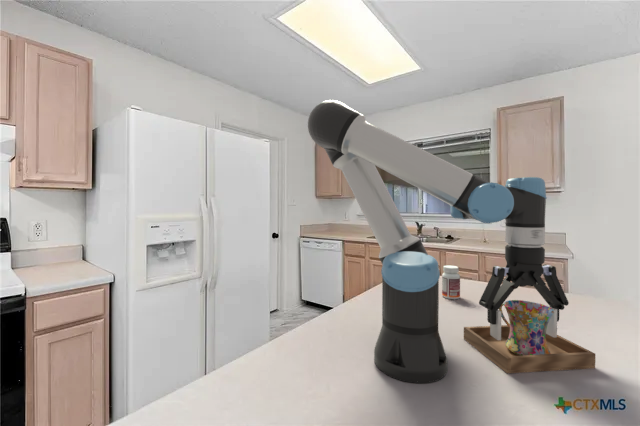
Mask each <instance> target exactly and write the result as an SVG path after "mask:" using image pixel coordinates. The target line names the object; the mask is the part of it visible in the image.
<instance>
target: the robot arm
mask: <svg viewBox="0 0 640 426" xmlns="http://www.w3.org/2000/svg"><path fill="white" fill-rule="evenodd" d="M307 130H308V131H307V132H308V133H309V136H310V138H311V140H312V141H313V142H314V143H315V144H316V145H317V146H319V147H320V148H323V149H324V151H325V152H326V154H327V156H328V158H329V161H330V163H331V165H332V166H333V168H335V169H338V170H340V171H341V172H342V173H343V176H344V178H345V180H346V182H347V184H348V186H349V188H350V189H351V191H352V194H353V196H354V198H355V200H356V202H357V204H358V206H359V208H360V210H361V211H362V214H363V216H364V218H365V219H366V222H367V224H368V226H369V228H370V229H371V232H372V234H373V236H374V237H375V240H376V242H377V244H378V245H379V248H380V251H379V254H378V259H379V260H380V263H381V264H382V266H381V272H380V273H381V278H382V290H381V292H382V295H381V297H382V299H381V300H382V304H381V306H382V307H381V312H382V313H381V315H382V318H381V319H382V321H381V323H382V325H381V328H380V331H379V334H378V336H377V337H378V338H377V340H376V341H375V342H376V343H375V345H374V350H373V353H374V354H373V355H374V358H373V360H374V364H375V366H376V368H378V369H379V371H381V372H382V373H384V374H385V375H387V376H389V377H391V378H393V379H396V380H400V381H402V382H407V383H413V384H414V383H415V384H427V383H434V382H436V381H439V380H441V379H442V378H444V377H445V376H446V375H447V373H448V357H447V354H446V350H445V348H444V345H443V341H442V339H441V336H440V332H439V308H440V307H439V295H440V293H439V292H440V290H439V289H440V288H439V286H440V285H439V284H440V283H439V281H440V277H441V276H440V275H441V273H440V269H439V263H438V260H437V259H436V258H435V257H434V256H432V255H431V254H428V252H427V250H426V248H425V246H424V244H423V243H422V242H423V241H421V239H420V237H418V236H415V235H412V234H411V232H410V231H409V228H408V227H407V224H406V223H405V221H404V218H403V217H402V214H401V213H400V211H399V209H398V207H397V206H396V203H395V202H394V199H393V197H392V195H391V194H390V192H389V190H388V187H387V186H386V184H385V183H384V180H383V178H382V176H381V173H379V171H378V168H379V169H381V170H384V171H385V172H387V173H389V175H390V174H391V175H392V176H394V177H397V179H400V180H402V181H404V182H405V183H408V184H409V185H412V186H414V187H415V188H417V189H419V190H421V191H423V192H424V193H426V194H428V195H431V196H432V197H433V198H436V199H438V200H440V201H442V202H443V203H445V204H447V205H449V206H450V209H449V211H450V216H451V217H452V218H454V219H460V220H477V221H478V222H481V223H482V224H492V223H498V222H501V221H503V220H505V231H504V233H505V235H504V236H505V237H504V242H505V243H506V245H505V246H504V259H505V261H506V265H505V267H503V266H498V265H494V266H492V272H491V275H490V276H491V277H490V278H489V281H488V282H487V284H486V287H485V289H484V291H483V293H482V295H481V297H480V299H479V302H478V304H479V305H480V306H482V307H484V308H485V309H487V315H486V316H487V318H486V319H487V322H488V323H489V326H490V335H491V336H492V337H494V338H495V339H497V340H501V325H502V317H501V311H499V308H500V306H501V305H502V304H504V302H506V301H507V299H508V298H509V296H511V294H512V292H514V290H516V289H518V288H519V287H527V286H528V287H534V289H535V290H536V291H537V292H538V294H539V295H540V296H541V297H542V299H544V301H545V302H546V303H547V305H546V306H548V307H550V308H552V309H553V311H554V313H553V315H552V316H551V318H550V320H549V322H548V325H547V329H546V334H548V335H550V336H552V337H554V338H555V337H557V335H558V322H559V320H560V310H561V311H563V310H564V309H565V306H569V303H570V302H569V300H568V297H567V296H566V294H565V291H564V288H563V287H562V285H561V284H562V283H561V282H560V280H559V278H558V276H557V267H556V266H555V265H554V266H553V265H550V264H545V263H546V260H545V259H546V258H545V257H546V255H545V253H546V251H545V250H546V249H545V248H544V247H543V246H544V245H546V207H547V206H546V203H547V192H546V191H547V189H546V188H547V187H546V182H545V180H544V179H543V178H542V177H538V176H537V177H536V176H529V177H528V176H527V177H513V178H508V179H507V180H506V182H505V185H502V184H499V183H497V182H489V181H488V180H486V179H484V178H481V177H480V176H477V175H475V174H473V173H471V172H469V171H468V170H466V169H463V168H462V167H459V166H457V165H456V164H453V163H451V162H449V161H447V160H445V159H443V158H440V157H439V156H437V155H435V154H432V153H431V152H429V151H427V150H424V149H423V148H420V147H419V146H417V145H415V144H413V143H411V142H408V141H406V140H404V139H402V138H400V137H399V136H396V135H394V134H392V133H390V132H388V131H386V130H384V129H382V128H380V127H378V126H376V125H374V124H372V123H369V122H368V121H367V119H366V115H364V114H362V113H361V112H358V111H357V110H354V109H353V108H351V107H349V106H348V105H347V104H345V103H343V102H341V101H338V100H334V99H332V100H331V99H329V100H324V101H322V102H319V103H318V104H316V106H315V107H313V109H312V110H311V112H310V113H309V117H308V121H307ZM542 276H543V278H544V280H545V281H544V280H543V279H542ZM546 284H547V285H546Z"/></svg>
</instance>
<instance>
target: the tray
mask: <svg viewBox="0 0 640 426" xmlns="http://www.w3.org/2000/svg"><path fill="white" fill-rule="evenodd" d="M509 333H510V328H509V327H508V325H507V324H504V325H502V324H501V340H497V339H495V338H494V337H492V336H491V335H490V325H482V326H481V325H480V326H479V325H478V326H463V340H464V341H465V342H467V343H468V344H469V345H471V346H472V347H473V348H474V349H476V350H477V351H478V352H480V353H481V354H482V355H483V356H484V357H486V358H487V359H488V360H490V361H491V362H492V363H493V364H495V365H496V366H497V367H498V368H500V370H502V371H504V372H505V373H506V374H519V373H521V374H522V373H535V372H536V373H538V372H540V373H541V372H552V371H553V372H554V371H555V372H556V371H573V370H591V369H596V353H595V352H592V351H591V350H589V349H587V348H586V347H583V346H581V345H579V344H577V343H575V342H572V341H571V340H569V339H567V338H564V337H563V336H560V335H558V334H557V337H555V338H554V337H552V336H550V335H548V334H546V342H547V346H548V349H549V351H550V353H551V354H541V355H523V356H520V355H517V354H515V353H513V352H512V351H510V350H509V349H508V348H507V347H506V345H505V343H506V341H507V339H508V337H509Z"/></svg>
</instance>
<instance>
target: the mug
mask: <svg viewBox="0 0 640 426" xmlns="http://www.w3.org/2000/svg"><path fill="white" fill-rule="evenodd" d="M503 306H504V308H505V311H506V313H507V316H508V320H507V318H506V317H505V315H504V313H503ZM548 306H549V305H548ZM548 306H546V305H545V304H543V303H539V302H535V301H531V300H523V299H522V300H521V299H512V300H511V299H509V300H505V301H504V303H503V304H502V305H501V306H500V308H499V309H498V310H499V311H501V320H503V321H504V323H505V325H508V327H509V328H510V333H509V337H508V339H507V341H506V343H505V345H506V347H507V348H508V349H509V350H510V351H512V352H513V353H515V354H517V355H520V356H523V355H541V354H551V353H550V351H549V349H548V346H547V342H546V329H547V325H548V322H549V320H550V318H551V316H552V315H553V313H554V311H553V309H552V308H550V307H548Z"/></svg>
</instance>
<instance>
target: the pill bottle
mask: <svg viewBox="0 0 640 426" xmlns="http://www.w3.org/2000/svg"><path fill="white" fill-rule="evenodd" d="M442 267H443V273H442V275H441V295H442V297H443V298H445V299H450V300H457V299H460V298H461V275H460V274H459V271H460V270H459V269H460V268H459V266H457V265H450V264H449V265H443V266H442Z"/></svg>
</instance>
